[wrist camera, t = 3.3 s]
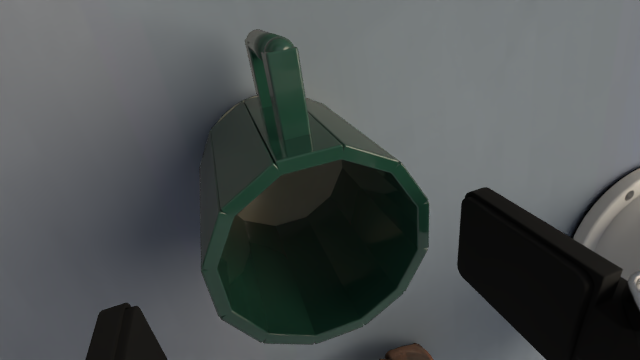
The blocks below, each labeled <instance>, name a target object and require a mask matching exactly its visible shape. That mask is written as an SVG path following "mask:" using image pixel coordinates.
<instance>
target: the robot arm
mask: <svg viewBox="0 0 640 360" xmlns="http://www.w3.org/2000/svg"><path fill="white" fill-rule="evenodd" d="M457 266H458V270H459V273H460V274H461V276H462V277H463V278H464V279H465V280H466V281H467V282H468V283H469V284H470V285H471V286H472V287H473V288H474V289H475V290H476V291H477V292H478V293H479V294H480V295H481V296H482V297H483V298H484V299H485V300H486V301H487V302H488V303H489V304H490V305H491V306H492V307H493V308H494V309H495V310H496V311H497V312H498V313H499V314H500V315H502V316H503V317H504V318H505V319H506V320H507V321H508V322H509V323H510V324H511V325H512V326H513V327H514V328H515V329H516V330H517V331H518V332H519V333H520V334H521V335H522V336H523V337H524V338H525V339H526V340H527V341H528V342H529V343H530V344H531V345H532V346H533V347H534V348H535V349H536V350H537V351H538V352H539V353H540V354H541V355H542V356H543V357H544V358H545V359H546V360H640V168H639V169H637V170H635V171H633V172H631V173H630V174H628V175H627V176H625V177H624V178H622V179H621V180H619V181H618V182H617V183H616V184H614V185H613V186H612V187H611V188H610V189H609V190H608V191H606V192H605V193H604V194H603V195H602V197H601V198H600V199H599V200H598V201H597V202H596V203H595V204H594V205H593V207H592V208H591V209H590V210H589V212H588V213H587V214H586V216H585V217H584V219H583V220H582V222H581V224H580V225H579V227H578V229H577V230H576V233H575V235H574V237H573V239H572V238H571V237H569V236H567V235H566V234H564V233H562V232H561V231H559V230H557V229H556V228H554V227H552V226H551V225H549V224H547V223H546V222H544V221H542V220H541V219H539V218H537V217H536V216H534V215H533V214H531V213H529V212H528V211H526V210H524V209H523V208H521V207H519V206H518V205H516V204H514V203H513V202H511V201H509V200H508V199H506V198H504V197H503V196H501V195H499V194H498V193H496V192H494V191H493V190H491V189H489V188H481V189H478V190H475V191H471V192H469V193H467V194H466V196H465V199H463V201H462V206H461V221H460V235H459V249H458V263H457ZM86 360H167V358H166V356H165V354H164V352H163V350H162V348H161V347H160V345H159V343H158V341H157V339H156V337H155V335H154V334H153V332H152V330H151V328H150V326H149V324H148V322H147V321H146V319H145V317H144V315H143V313H142V311H141V309H140V308H139V307H138V306H134V307H131V306H130V304H128V303H124V304H121V305H118V306H114V307H111V308H108V309H105V310H102V311H101V312H100V313H99V315H98V318H97V322H96V325H95V329H94V332H93V336H92V339H91V343H90V346H89V350H88V353H87V356H86Z"/></svg>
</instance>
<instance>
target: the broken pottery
mask: <svg viewBox="0 0 640 360" xmlns="http://www.w3.org/2000/svg"><path fill="white" fill-rule="evenodd" d="M380 360H433V358H432V357H431V355H430V354H429V353H428V352H427V351H426V350H425V349H423V348H422V346H420V345H419V344H416V343H414V344H412V345H406V346H402V347H398V348H396V349H393V350H389V351H388V352H387V353H386V355H385V359H380Z"/></svg>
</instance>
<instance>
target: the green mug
mask: <svg viewBox="0 0 640 360" xmlns="http://www.w3.org/2000/svg"><path fill="white" fill-rule="evenodd" d="M245 45H246V49H247V54H248V58H249V63H250V67H251V72H252V76H253V81H254V85H255V90H256V94H257V95H256V96H253V97H251V98H248V99H245V100H244V101H241V102H240V103H238V104H237V105H235V106H234V107H232V108H231V109H230V110H229V111H227V112H226V113H225V114H224V115H223V116H222V117H221V118H220V119H219V121H218V122H217V123H216V125H215V126H214V127H212V128H211V131H210V132H209V135H208V139H207V142H206V145H205V149H204V153H203V157H202V160H201V164H200V167H199V174H200V236H201V273H202V275H203V278H204V281H205V283H206V286H207V288H208V291H209V293H210V296H211V299H212V301H213V304H214V306H215V309H216V311H217V314H218V316H219V317H220V318H221V320H223V321H225V322H227V323H228V324H230V325H232V326H233V327H235V328H237V329H239V330H240V331H242V332H244V333H245V334H247V335H249V336H250V337H252V338H254V339H256V340H257V341H259V342H263V343H267V344H305V345H313V344H314V343H315V344H317V343H320V342H323V341H326V340H328V339H331V338H334V337H336V336H339V335H342V334H344V333H347V332H350V331H353V330H355V329H358V328H361V327H363V324H364V325H366V324H367V323H369V322H370V321H371V320H372V319H373V318H375V317H376V316H377V315H378V314H379V313H381V312H382V311H383V310H384V309H385V308H387V307H388V306H389V305H390V304H391V303H392V302H394V301H395V300H396V299H397V298H398V297H400V296H401V295H402V294H403V291H406V289H407V287H408V285H409V283H410V282H411V280H412V278H413V276H414V274H415V272H416V270H417V269H418V267H419V265H420V263H421V261H422V259H423V258H424V256H425V254H426V252H427V250H428V249H427V248H428V247H429V202H428V198H427V197H426V196H425V194H424V193H423V192H422V190H421V189H420V187H419V186H418V185H417V183H416V182H415V180H414V179H413V178H412V176H411V175H410V174H409V172H408V171H407V169H406V168H405V167H404V165H403V164H402V163H401V162H400V161H399V160H397V159H396V158H395V157H393V156H392V155H391V154H389V153H388V152H387V151H385V150H384V149H383V148H381V147H380V146H379V145H377V144H376V143H375V142H373V141H372V140H371V139H369V138H368V137H367V136H365V135H364V134H363V133H361V132H360V131H359V130H357V129H356V128H355V127H353V126H352V125H351V124H349V123H348V122H347V121H345V120H344V119H343V118H341V117H340V116H339V115H337V114H336V113H335V112H333V111H332V110H331V109H329V108H328V107H327V106H325V105H324V104H323V103H320V102H317V101H314V100H311V99H308V98H306V97H305V91H304V85H303V78H302V72H301V66H300V59H299V53H298V49H297V47H294V45H293V44H292V42H291V41H290V40H288V39H287V38H285V37H282V36H279V35H276V34H272V33H269V32H266V31H263V30H260V29H255V30H252V31H251V32H250V33H249V34H248V36H247V38H246V39H245Z"/></svg>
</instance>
